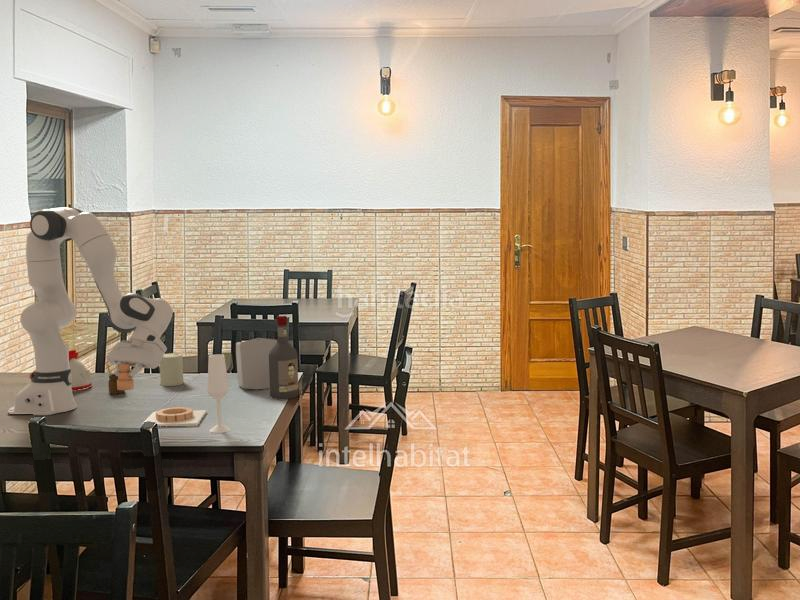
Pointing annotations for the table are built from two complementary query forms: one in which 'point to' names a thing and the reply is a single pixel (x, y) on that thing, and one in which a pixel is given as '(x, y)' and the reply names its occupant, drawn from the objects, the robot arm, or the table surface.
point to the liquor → (283, 365)
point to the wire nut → (124, 378)
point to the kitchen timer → (78, 372)
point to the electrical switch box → (254, 363)
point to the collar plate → (179, 423)
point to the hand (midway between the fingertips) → (123, 375)
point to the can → (171, 370)
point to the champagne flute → (217, 386)
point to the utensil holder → (113, 383)
